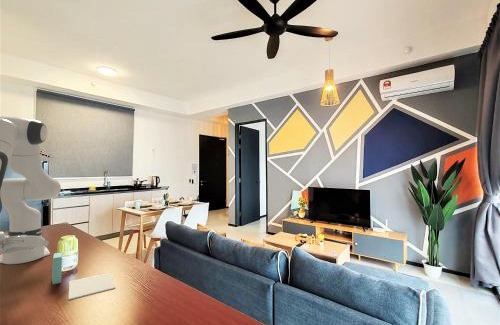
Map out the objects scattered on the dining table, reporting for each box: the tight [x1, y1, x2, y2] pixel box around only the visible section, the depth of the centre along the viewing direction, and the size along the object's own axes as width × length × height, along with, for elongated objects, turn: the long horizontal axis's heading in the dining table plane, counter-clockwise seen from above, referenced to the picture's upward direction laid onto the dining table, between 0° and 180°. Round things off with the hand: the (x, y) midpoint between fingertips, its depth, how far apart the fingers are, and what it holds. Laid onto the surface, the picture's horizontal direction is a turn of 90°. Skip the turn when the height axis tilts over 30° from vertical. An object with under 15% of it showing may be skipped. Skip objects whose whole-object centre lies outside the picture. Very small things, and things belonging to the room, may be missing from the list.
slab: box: [51, 252, 63, 285], centre depth 94 cm, size 6×3×10 cm, turn 36°
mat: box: [68, 271, 116, 301], centre depth 91 cm, size 15×14×1 cm
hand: (40, 245), depth 90 cm, fingers open, 8 cm apart
